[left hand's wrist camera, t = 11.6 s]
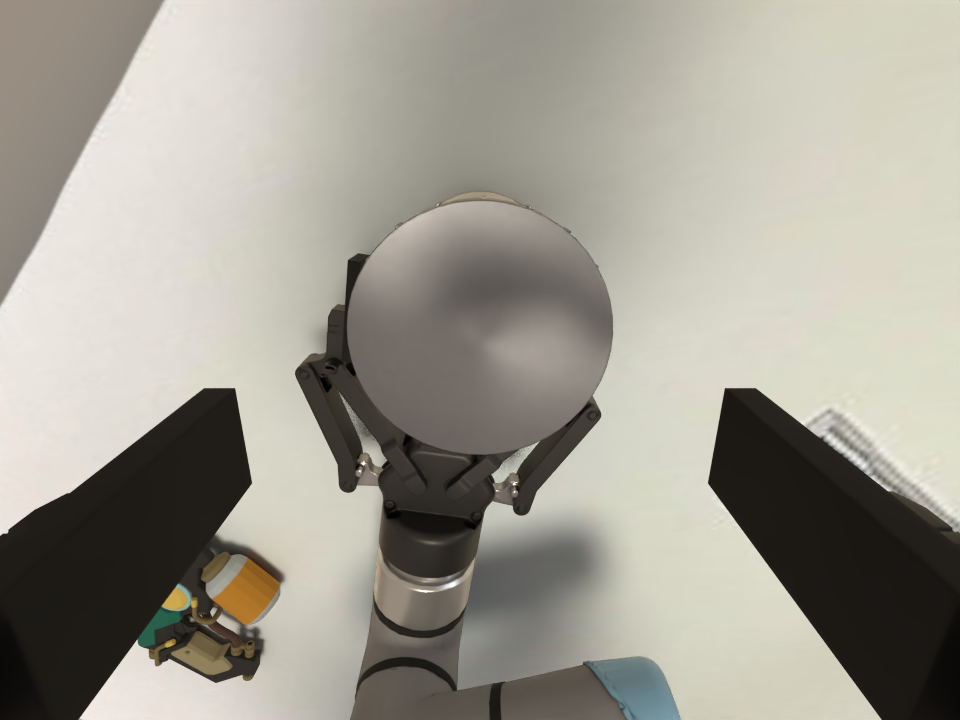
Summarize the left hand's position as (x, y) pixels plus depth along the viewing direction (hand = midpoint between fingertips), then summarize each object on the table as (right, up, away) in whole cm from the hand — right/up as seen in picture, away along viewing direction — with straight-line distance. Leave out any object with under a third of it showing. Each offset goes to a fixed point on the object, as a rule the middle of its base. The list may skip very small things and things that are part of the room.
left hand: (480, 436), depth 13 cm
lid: (0, +3, +8) cm, 8 cm away
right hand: (-1, +7, +19) cm, 20 cm away
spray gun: (-26, -20, +36) cm, 49 cm away
